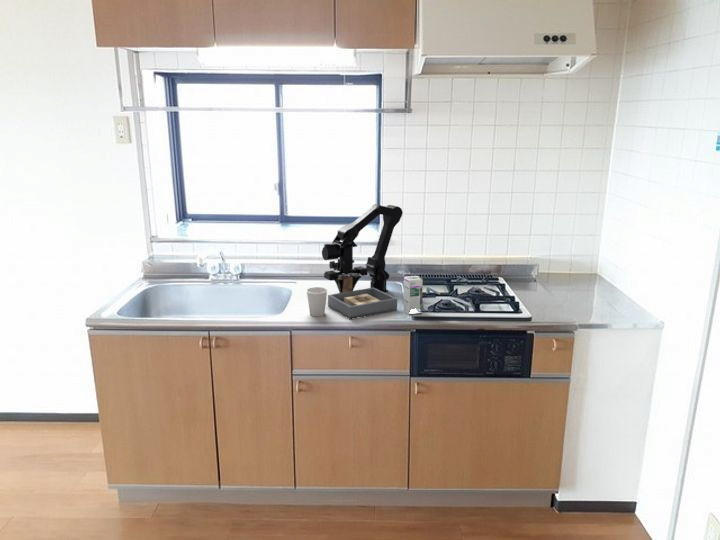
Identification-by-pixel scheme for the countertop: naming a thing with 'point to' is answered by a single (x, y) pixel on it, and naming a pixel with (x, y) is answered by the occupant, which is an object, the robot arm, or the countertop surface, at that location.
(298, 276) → the countertop surface
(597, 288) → the countertop surface
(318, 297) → the dixie cup
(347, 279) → the walnut peg
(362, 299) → the birch bore plate
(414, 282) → the syrup box
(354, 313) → the charcoal tray
